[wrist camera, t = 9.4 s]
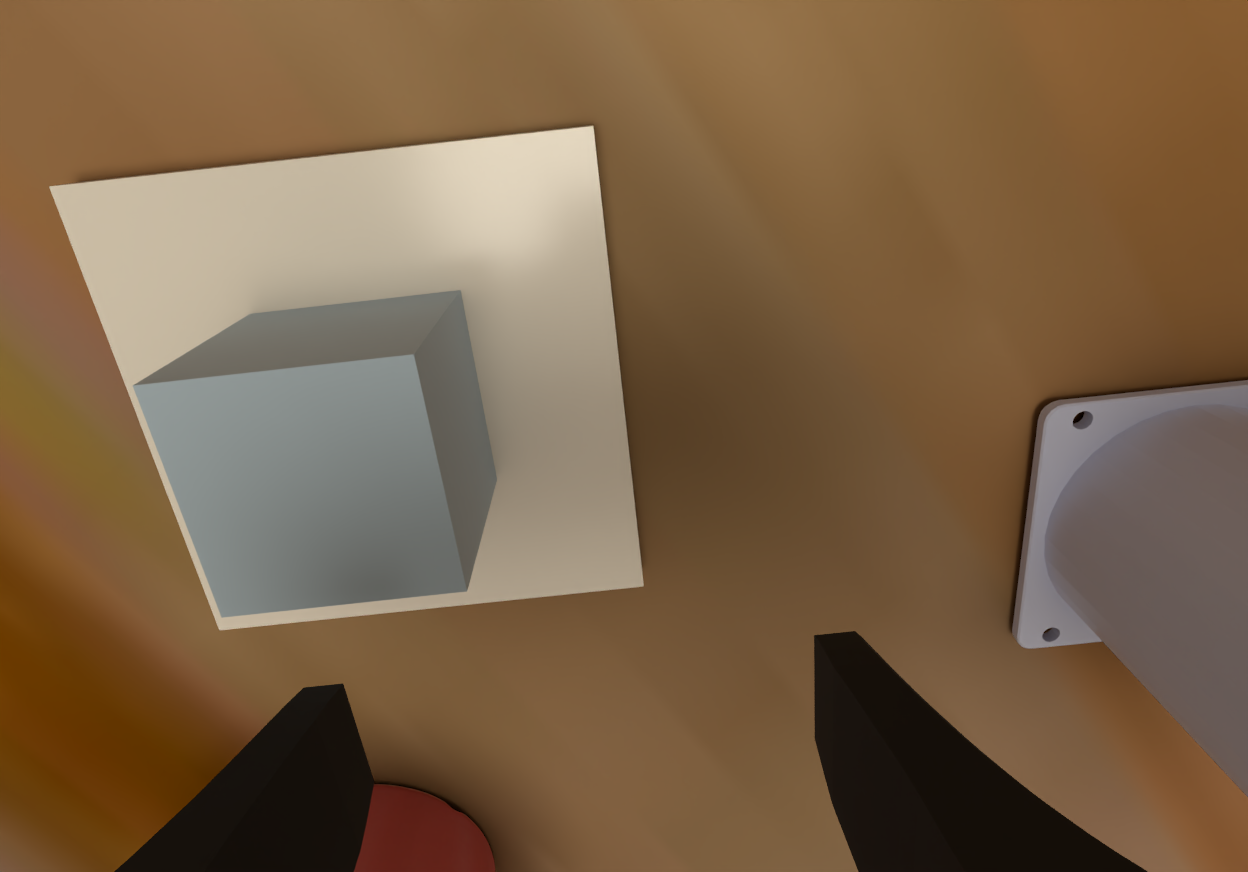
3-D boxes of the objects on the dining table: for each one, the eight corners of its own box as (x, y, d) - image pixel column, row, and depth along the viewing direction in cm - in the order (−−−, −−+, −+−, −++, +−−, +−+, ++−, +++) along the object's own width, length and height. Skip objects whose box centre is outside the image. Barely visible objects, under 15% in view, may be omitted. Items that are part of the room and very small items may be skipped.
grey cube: (460, 290, 18) (413, 354, 14) (497, 479, 20) (467, 591, 16) (250, 314, 18) (132, 385, 14) (307, 500, 20) (221, 617, 16)
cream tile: (593, 124, 18) (593, 125, 17) (641, 566, 22) (643, 586, 22) (77, 182, 18) (49, 186, 17) (234, 608, 23) (219, 630, 22)
